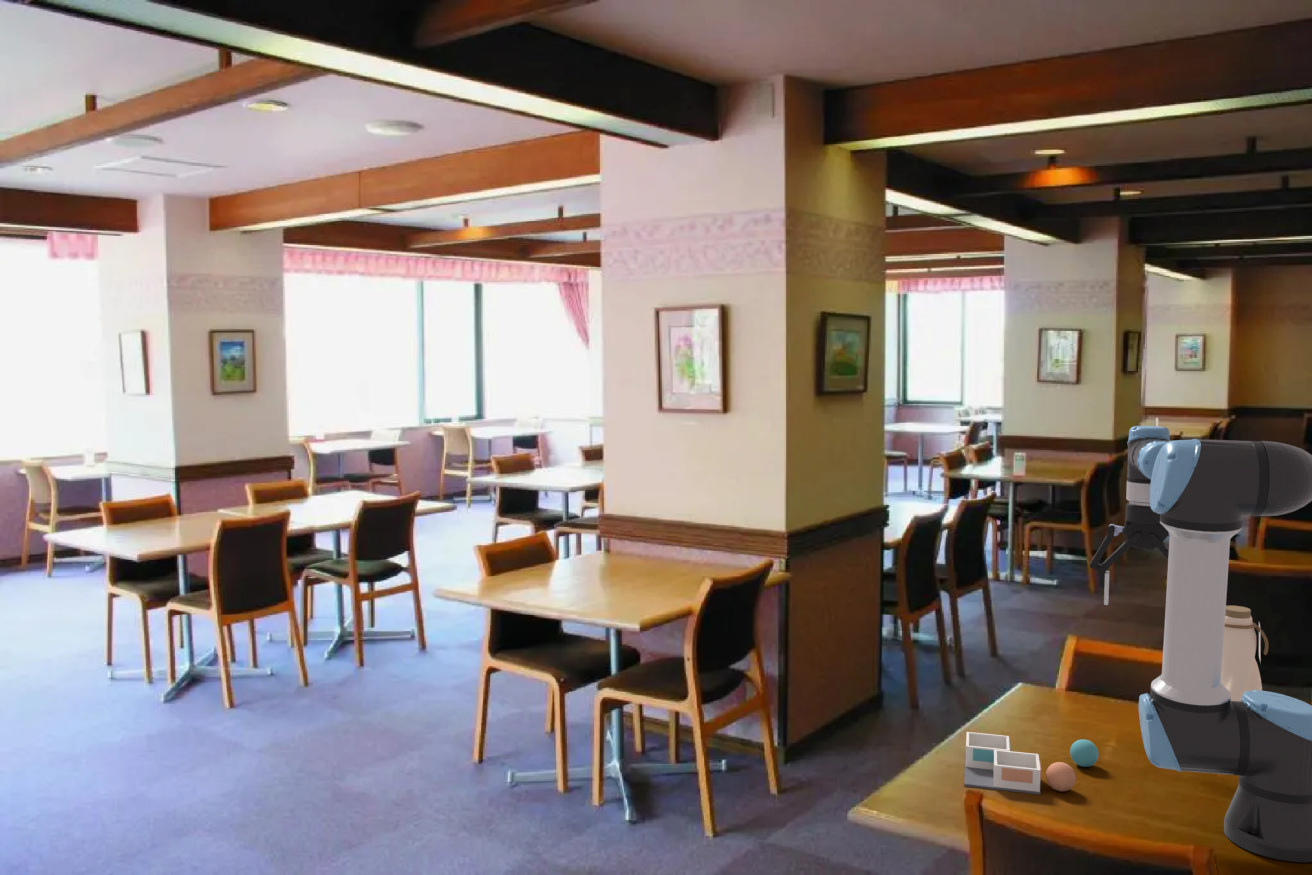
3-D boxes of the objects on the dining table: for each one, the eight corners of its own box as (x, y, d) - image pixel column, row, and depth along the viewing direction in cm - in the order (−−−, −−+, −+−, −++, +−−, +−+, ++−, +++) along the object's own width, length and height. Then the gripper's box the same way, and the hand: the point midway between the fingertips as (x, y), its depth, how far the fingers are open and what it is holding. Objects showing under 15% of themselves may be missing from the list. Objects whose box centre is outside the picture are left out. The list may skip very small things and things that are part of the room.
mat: (1040, 794, 192) (1040, 792, 192) (964, 785, 196) (964, 783, 196) (1036, 760, 207) (1036, 758, 207) (965, 753, 211) (965, 751, 211)
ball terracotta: (1076, 797, 191) (1077, 769, 190) (1046, 793, 192) (1047, 766, 192) (1074, 786, 196) (1075, 759, 195) (1044, 782, 197) (1045, 756, 197)
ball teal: (1099, 772, 202) (1100, 746, 201) (1070, 769, 203) (1071, 743, 203) (1096, 762, 206) (1097, 736, 206) (1068, 759, 208) (1069, 734, 207)
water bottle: (1250, 740, 218) (1257, 603, 215) (1271, 757, 209) (1278, 614, 206) (1197, 738, 219) (1203, 602, 216) (1215, 755, 210) (1222, 613, 207)
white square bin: (1010, 774, 201) (1010, 751, 201) (965, 769, 203) (965, 746, 203) (1009, 758, 209) (1009, 735, 208) (966, 753, 211) (966, 731, 210)
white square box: (1041, 794, 192) (1041, 770, 191) (993, 789, 194) (994, 765, 194) (1038, 777, 200) (1039, 754, 199) (993, 772, 202) (993, 749, 201)
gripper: (1215, 504, 216) (1210, 608, 218) (1081, 496, 226) (1077, 596, 228) (1217, 509, 209) (1212, 617, 211) (1078, 501, 220) (1075, 604, 221)
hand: (1142, 606), depth 220 cm, fingers open, 13 cm apart
